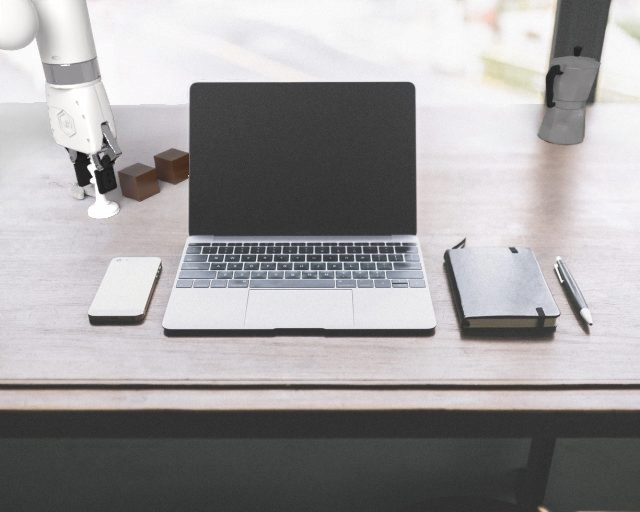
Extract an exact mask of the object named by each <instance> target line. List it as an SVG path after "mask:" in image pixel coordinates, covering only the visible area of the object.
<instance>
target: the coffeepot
mask: <svg viewBox="0 0 640 512" xmlns="http://www.w3.org/2000/svg"><path fill="white" fill-rule="evenodd" d="M583 49H584V47H582V46H580V45H575V46H574V47H573V55H567V56H566V55H565V56H559V57H553V58H552V59H551V61H550V62H549V69H548V71H547V73H546V75H545V100H546V101H545V102H546V111H545V113H544V116H543V119H542V122H541V125H540V127H539V130H538V133H537V136H538V137H539V138H540V139H541V140H542V141H544V142H547V143H549V144H553V145H562V146H572V145H579V144H581V143H582V142H583V141H584V139H585V136H586V115H587V114H586V113H587V110H586V109H587V107H586V103H587V101H588V99H589V96H590V94H591V91H592V89H593V85H594V83H595V80H596V78H597V75H598V72H599V69H600V66H601V64H602V62H600V61H597V59H596V58H593V57H589V56H583V55H581V53H582V51H583Z"/></svg>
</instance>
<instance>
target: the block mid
mask: <svg viewBox="0 0 640 512" xmlns="http://www.w3.org/2000/svg"><path fill="white" fill-rule="evenodd" d="M116 173H117V176H118V182H119V187H120V191H121V195H122V197H124V198H125V197H126V198H129V199H131V200H134V201H137V202H139V203H140V202H143V201H144V200H147V199H148V198H151V197H153V196H155V195H157V194H159V193H160V192H161V191H160V190H161V189H160V185H159V180H158V177H157V171H156V168H155V166H150V165H147V164H144V163H140V162H136V163H134V164H131V165H129V166H127V167H124V168H123V169H119V170H118V171H117V172H116Z"/></svg>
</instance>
